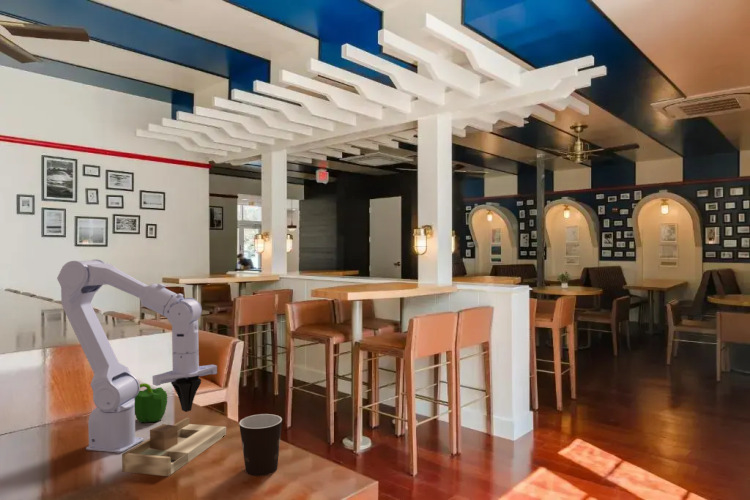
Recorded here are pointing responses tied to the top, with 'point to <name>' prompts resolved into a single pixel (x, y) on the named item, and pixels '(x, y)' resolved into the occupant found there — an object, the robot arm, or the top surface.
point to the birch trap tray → (172, 450)
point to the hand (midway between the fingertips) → (186, 410)
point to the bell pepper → (150, 404)
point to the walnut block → (163, 437)
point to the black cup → (261, 443)
